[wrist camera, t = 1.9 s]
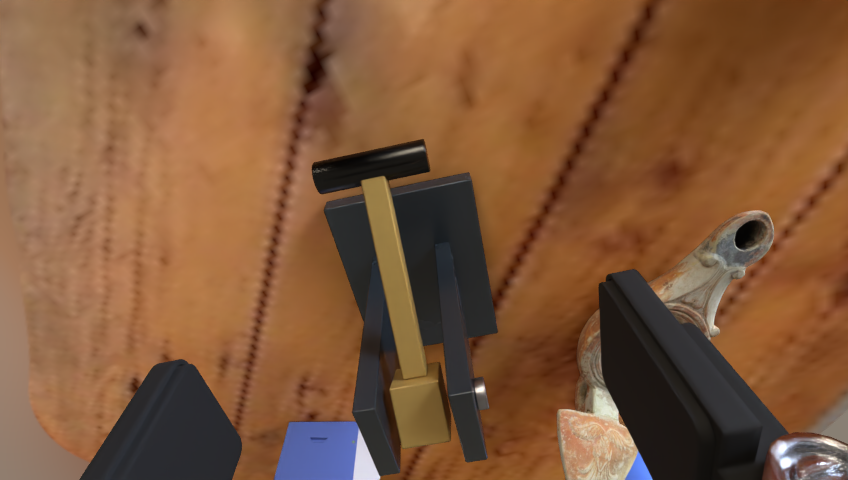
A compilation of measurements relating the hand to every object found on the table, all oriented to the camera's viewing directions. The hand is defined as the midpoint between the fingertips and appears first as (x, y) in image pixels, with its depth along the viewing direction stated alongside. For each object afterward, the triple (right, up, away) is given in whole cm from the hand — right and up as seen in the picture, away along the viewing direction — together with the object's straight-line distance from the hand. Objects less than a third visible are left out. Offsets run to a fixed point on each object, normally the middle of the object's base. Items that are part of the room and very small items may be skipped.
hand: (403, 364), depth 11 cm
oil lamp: (+16, -2, +23) cm, 28 cm away
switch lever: (-1, 0, +11) cm, 11 cm away
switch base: (0, +1, +21) cm, 21 cm away
